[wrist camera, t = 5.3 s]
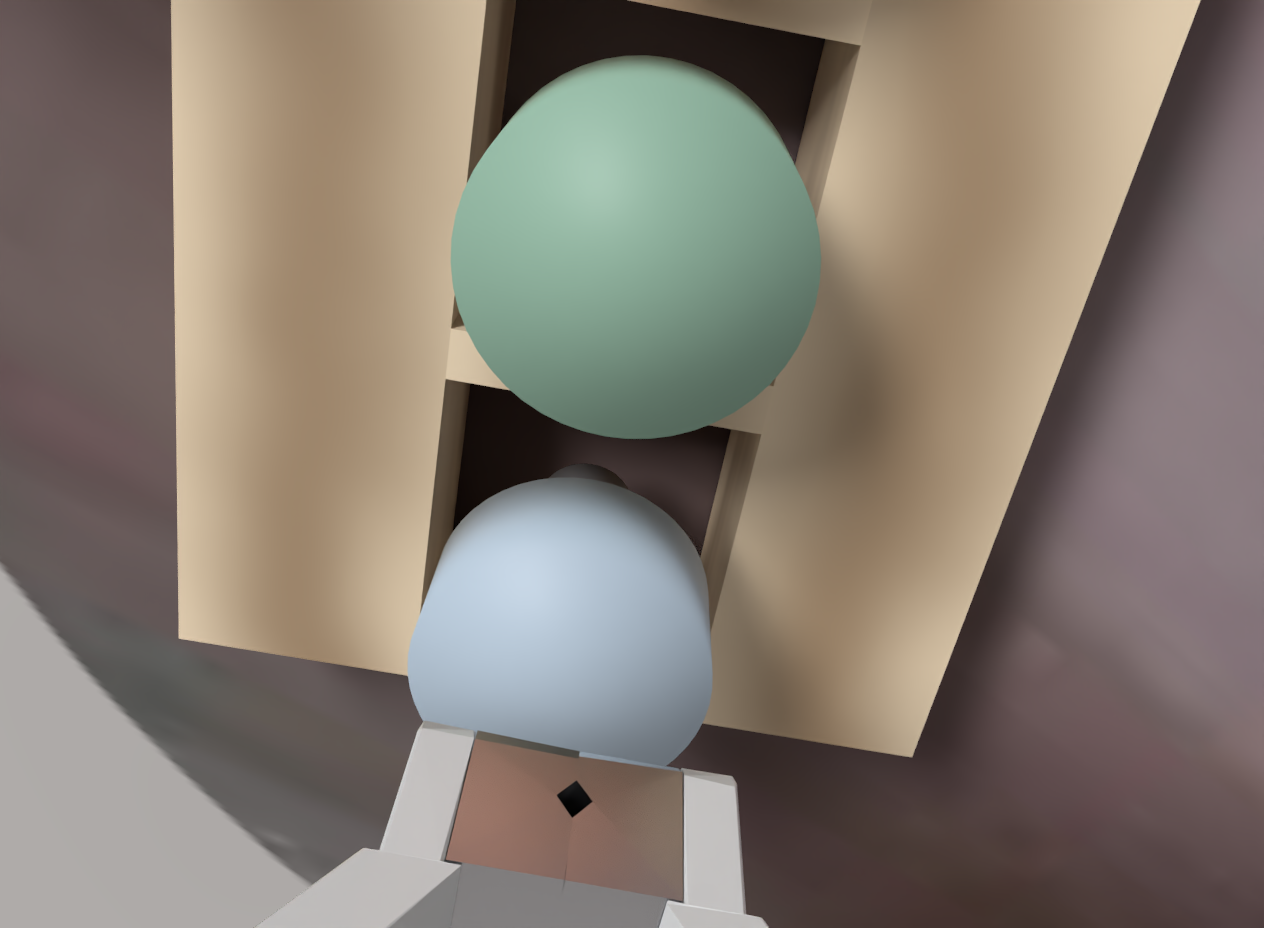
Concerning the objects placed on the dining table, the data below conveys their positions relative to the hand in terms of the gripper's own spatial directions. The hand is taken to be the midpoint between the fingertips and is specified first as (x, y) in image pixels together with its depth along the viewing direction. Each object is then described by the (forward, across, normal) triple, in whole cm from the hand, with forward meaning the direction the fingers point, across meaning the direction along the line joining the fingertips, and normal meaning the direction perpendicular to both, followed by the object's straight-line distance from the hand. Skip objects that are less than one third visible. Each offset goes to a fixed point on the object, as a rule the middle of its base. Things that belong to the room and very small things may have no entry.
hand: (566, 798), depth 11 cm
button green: (+12, 0, -3) cm, 13 cm away
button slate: (+12, 0, +4) cm, 13 cm away
